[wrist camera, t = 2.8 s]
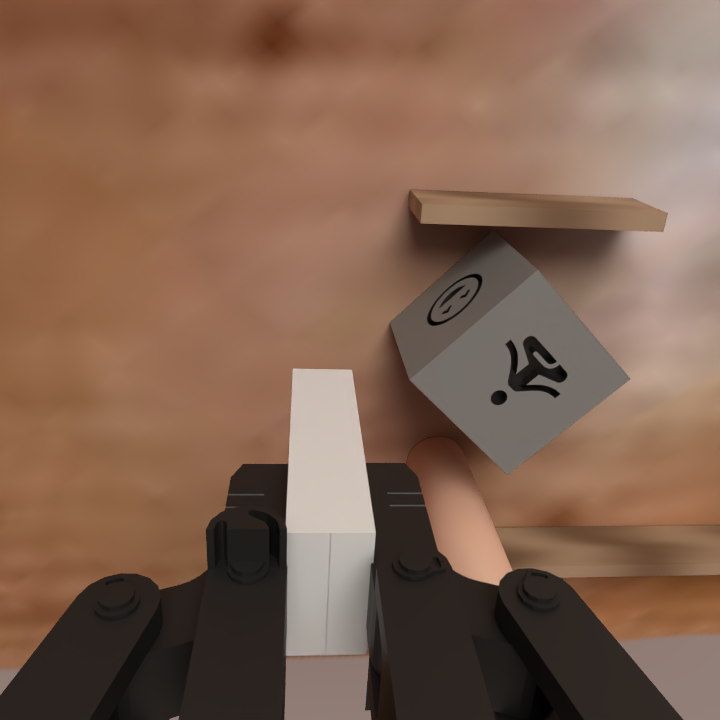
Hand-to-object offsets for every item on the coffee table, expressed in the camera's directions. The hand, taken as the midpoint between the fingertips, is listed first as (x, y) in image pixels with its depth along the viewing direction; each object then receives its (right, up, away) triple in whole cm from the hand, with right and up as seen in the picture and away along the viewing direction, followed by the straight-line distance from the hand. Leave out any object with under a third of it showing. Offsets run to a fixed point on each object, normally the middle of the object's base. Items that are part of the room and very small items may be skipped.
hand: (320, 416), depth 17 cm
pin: (+4, -3, +10) cm, 11 cm away
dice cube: (+6, +3, +8) cm, 10 cm away
